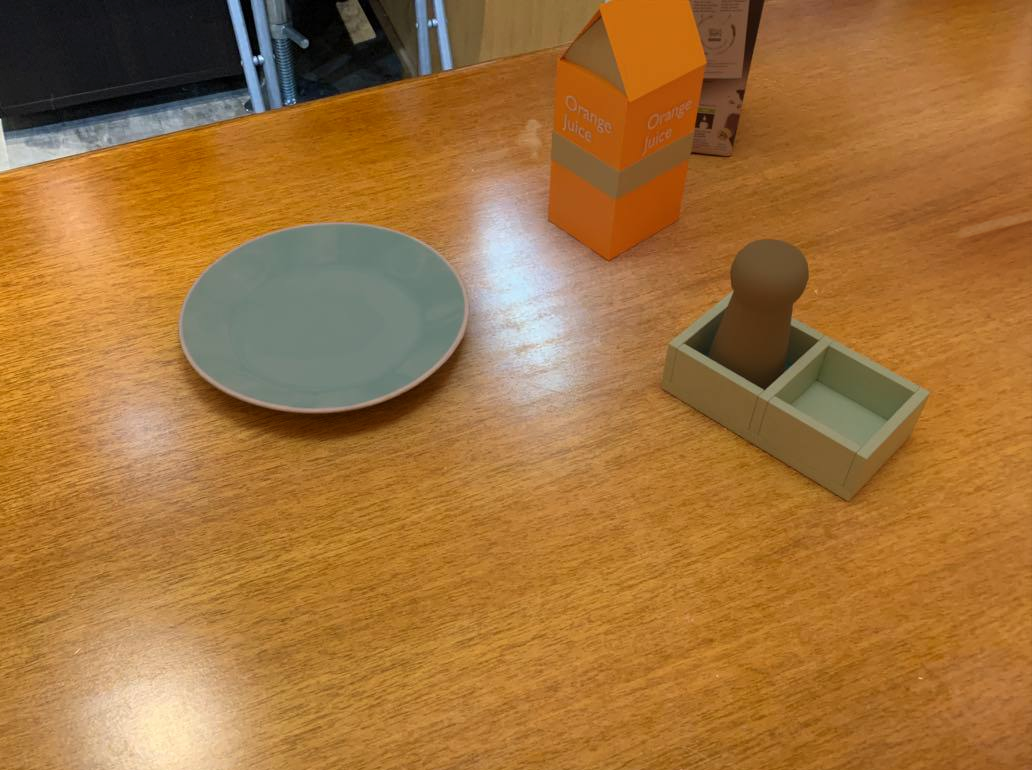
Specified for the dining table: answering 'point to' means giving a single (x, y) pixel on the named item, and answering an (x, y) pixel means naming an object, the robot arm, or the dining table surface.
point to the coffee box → (723, 69)
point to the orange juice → (625, 123)
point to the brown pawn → (760, 311)
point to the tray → (802, 403)
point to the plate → (323, 317)
